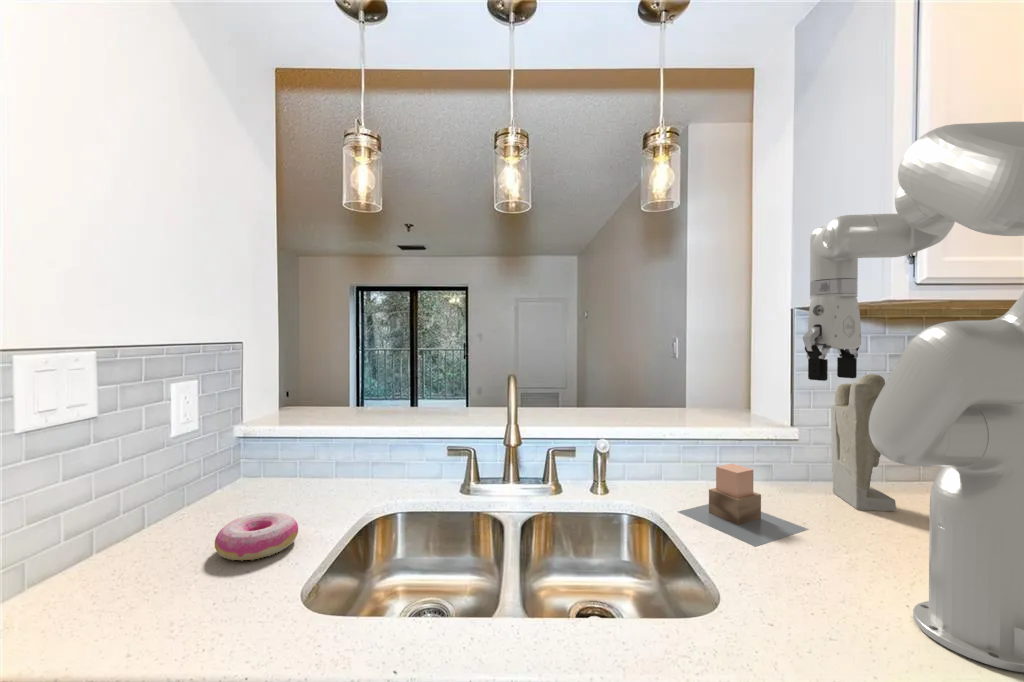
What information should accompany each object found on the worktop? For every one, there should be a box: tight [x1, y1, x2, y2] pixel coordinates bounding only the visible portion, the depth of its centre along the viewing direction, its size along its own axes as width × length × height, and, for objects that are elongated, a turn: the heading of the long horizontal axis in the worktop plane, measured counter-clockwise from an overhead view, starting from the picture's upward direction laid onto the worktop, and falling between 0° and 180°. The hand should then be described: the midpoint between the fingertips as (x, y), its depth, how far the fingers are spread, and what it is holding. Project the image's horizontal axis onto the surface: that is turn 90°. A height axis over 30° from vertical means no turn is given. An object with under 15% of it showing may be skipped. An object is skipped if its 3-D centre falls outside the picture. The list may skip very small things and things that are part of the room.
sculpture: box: [830, 373, 897, 512], centre depth 104 cm, size 15×8×30 cm, turn 168°
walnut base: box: [708, 487, 762, 525], centre depth 95 cm, size 7×7×5 cm
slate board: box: [677, 503, 809, 548], centre depth 93 cm, size 18×16×1 cm
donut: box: [214, 512, 299, 562], centre depth 83 cm, size 14×13×5 cm
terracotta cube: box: [715, 463, 754, 498], centre depth 95 cm, size 5×5×5 cm
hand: (832, 378), depth 88 cm, fingers open, 9 cm apart
